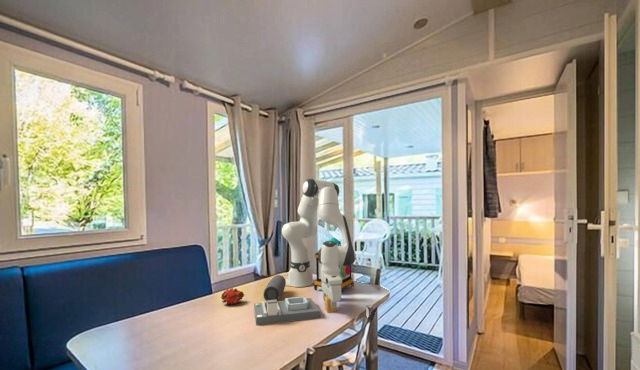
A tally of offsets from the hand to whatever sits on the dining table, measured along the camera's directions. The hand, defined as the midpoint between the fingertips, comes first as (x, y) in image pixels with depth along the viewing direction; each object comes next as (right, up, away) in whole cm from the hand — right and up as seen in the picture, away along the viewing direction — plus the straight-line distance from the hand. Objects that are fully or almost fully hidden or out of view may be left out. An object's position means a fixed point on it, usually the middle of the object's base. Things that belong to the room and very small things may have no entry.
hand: (330, 305), depth 143 cm
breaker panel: (-21, -2, -4) cm, 21 cm away
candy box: (+1, -3, +15) cm, 15 cm away
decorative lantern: (+3, -4, +34) cm, 34 cm away
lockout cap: (0, -2, 0) cm, 2 cm away
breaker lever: (-26, +1, -12) cm, 28 cm away
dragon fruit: (-50, -4, +11) cm, 51 cm away
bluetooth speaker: (-29, -4, +19) cm, 35 cm away
